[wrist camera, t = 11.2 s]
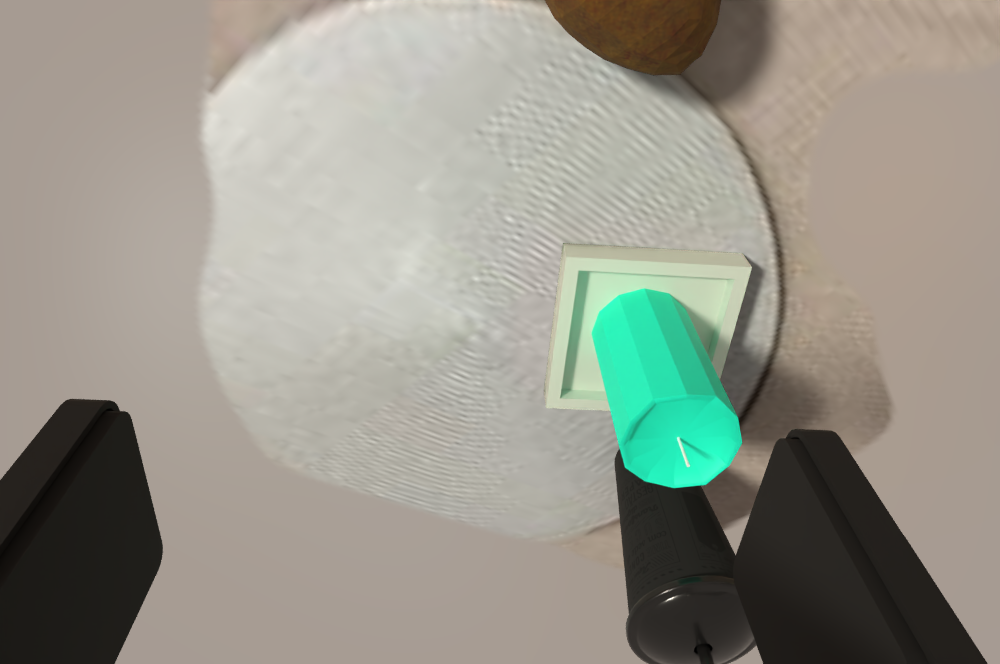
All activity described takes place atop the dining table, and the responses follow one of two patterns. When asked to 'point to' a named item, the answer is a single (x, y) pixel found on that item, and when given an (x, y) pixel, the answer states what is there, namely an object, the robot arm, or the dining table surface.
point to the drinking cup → (678, 576)
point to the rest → (617, 270)
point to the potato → (641, 30)
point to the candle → (663, 391)
